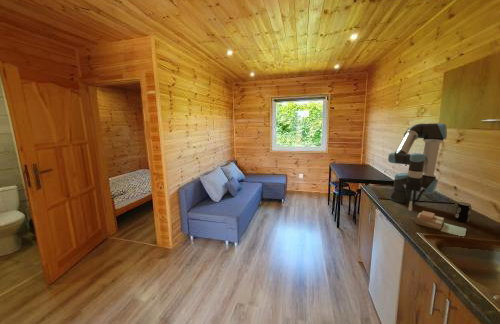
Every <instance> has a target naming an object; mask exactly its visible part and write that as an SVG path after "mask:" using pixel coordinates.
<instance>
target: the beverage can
mask: <svg viewBox="0 0 500 324" xmlns="http://www.w3.org/2000/svg"><path fill="white" fill-rule="evenodd" d="M471 211H472V204H471V203H468V202H465V201H458V203H457V205H456V209H455V214H454V219H455V221H458V222H460V223H466V224H467V223H468V222H469V221H470V217H471V213H472V212H471Z"/></svg>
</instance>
